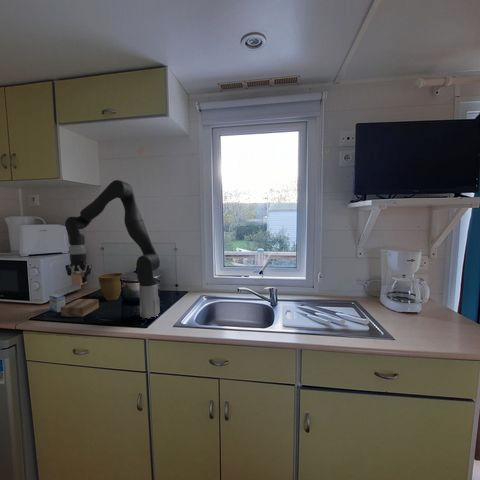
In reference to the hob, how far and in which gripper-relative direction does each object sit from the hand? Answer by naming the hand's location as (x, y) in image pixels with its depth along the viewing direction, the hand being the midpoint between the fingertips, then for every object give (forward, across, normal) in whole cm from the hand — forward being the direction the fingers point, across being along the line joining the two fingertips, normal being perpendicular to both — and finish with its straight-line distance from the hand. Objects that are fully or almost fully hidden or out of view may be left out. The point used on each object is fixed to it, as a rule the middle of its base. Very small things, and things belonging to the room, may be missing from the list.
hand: (79, 282), depth 137 cm
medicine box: (+17, +15, -2) cm, 23 cm away
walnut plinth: (+17, 0, 0) cm, 17 cm away
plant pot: (+17, -5, -23) cm, 29 cm away
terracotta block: (+1, 0, 0) cm, 1 cm away
